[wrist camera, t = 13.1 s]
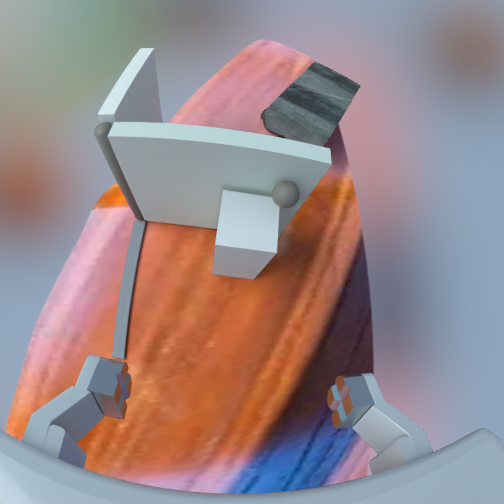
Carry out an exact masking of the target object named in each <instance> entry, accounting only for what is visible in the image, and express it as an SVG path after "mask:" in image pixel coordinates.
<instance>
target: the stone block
mask: <svg viewBox="0 0 504 504" xmlns="http://www.w3.org/2000/svg"><path fill="white" fill-rule="evenodd" d="M359 88H360V85H359V84H357V83H355V82H354V81H352V80H350V79H348V78H347V77H345V76H343V75H341V74H339V73H337V72H336V71H334V70H332V69H330V68H328V67H326V66H323V65H321V64H319V63H317V62H314V63H313V64H312V65H311V66H310V67H309V68H308V69H307V70H306V71H305V72H304V73H303V74H301V75H300V76H299V77H298V78H297V79H296V80H295V81H294V82H293V83H292V84H290V86H289V87H288V88H287V89H286V90H285V91H284V92H283V93H282V94H281V95H280V96H279V97H278V98H277V99H276V100H275V101H274V102H273V103H272V104H271V105H270V106H269V107H268V108H267V109H265V110H264V111H263V112H262V114H261V119H263V123H264V126H265V128H266V129H267V130H270V131H272V132H273V133H275V134H277V135H278V136H280V137H281V138H285V139H290V140H294V141H299V142H304V143H308V144H313V145H317V146H321V147H324V146H325V144H326V143H327V141H328V139H329V138H330V136H331V134H332V133H333V131H334V130H335V128H336V126H337V125H338V123H339V121H340V120H341V118H342V116H343V115H344V113H345V111H346V110H347V108H348V106H349V104H350V103H351V101H352V99H353V98H354V96H355V94H356V93H357V91H358V89H359Z"/></svg>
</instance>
